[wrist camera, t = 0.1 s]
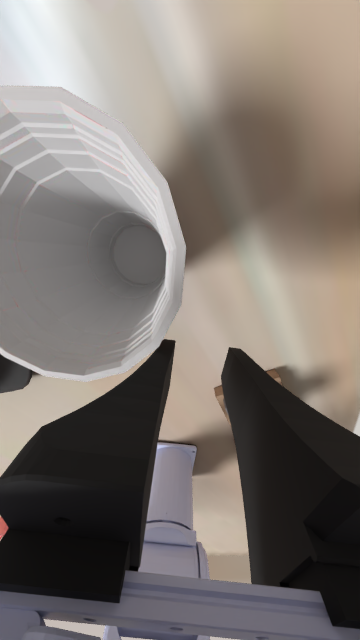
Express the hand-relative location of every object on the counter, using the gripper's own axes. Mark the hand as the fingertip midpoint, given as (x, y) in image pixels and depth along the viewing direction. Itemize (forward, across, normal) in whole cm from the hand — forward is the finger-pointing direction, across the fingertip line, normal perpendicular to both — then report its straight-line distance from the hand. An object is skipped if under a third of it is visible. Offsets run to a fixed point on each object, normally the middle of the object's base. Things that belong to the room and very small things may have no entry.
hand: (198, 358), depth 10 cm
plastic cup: (+11, +6, -4) cm, 13 cm away
